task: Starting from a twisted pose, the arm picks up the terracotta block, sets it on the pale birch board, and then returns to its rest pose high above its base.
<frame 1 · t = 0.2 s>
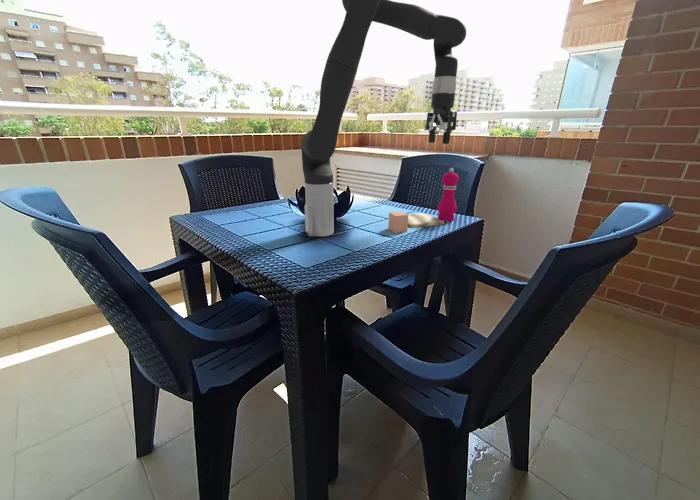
hand: (438, 143, 113), 29 cm above the table, tool pointing down, fingers open, 8 cm apart
pepper mill: (445, 219, 127), on the table
terracotta block: (397, 230, 113), on the table
birch board: (418, 221, 124), on the table
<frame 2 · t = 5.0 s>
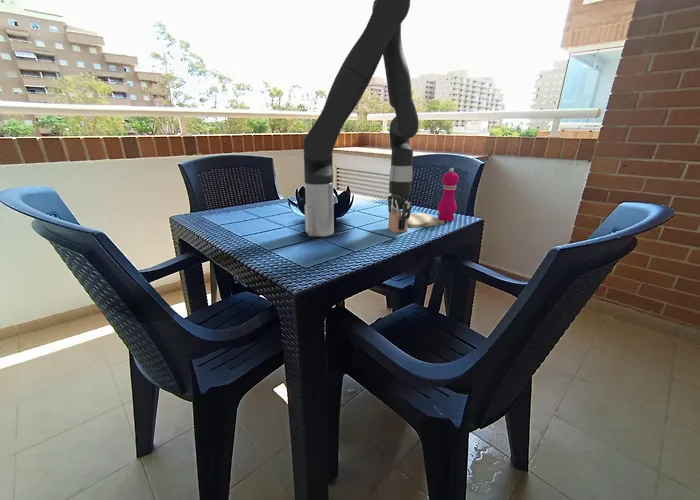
hand: (397, 227, 113), 1 cm above the table, tool pointing down, fingers closed on terracotta block, 5 cm apart
terracotta block: (397, 229, 113), on the table, touching gripper
everything else where it was.
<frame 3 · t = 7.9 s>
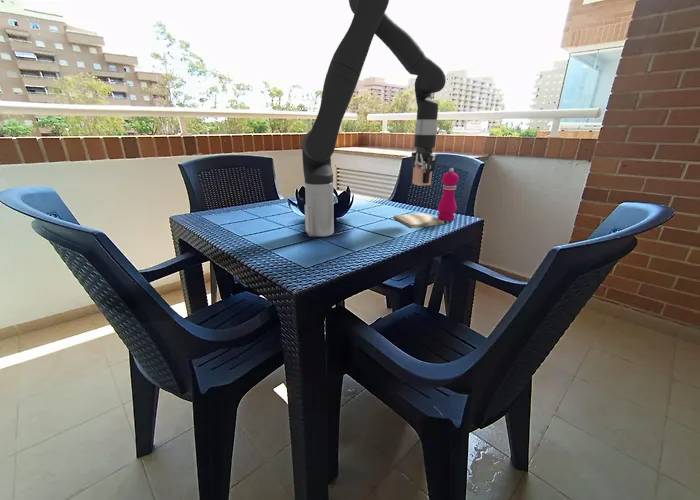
hand: (421, 181, 119), 15 cm above the table, tool pointing down, fingers closed on terracotta block, 5 cm apart
terracotta block: (421, 184, 119), point 14 cm above the table, touching gripper
everything else where it was.
when the fingers open (3 cm above the table, at t = 10.9 s): terracotta block drops 1 cm, resting on birch board.
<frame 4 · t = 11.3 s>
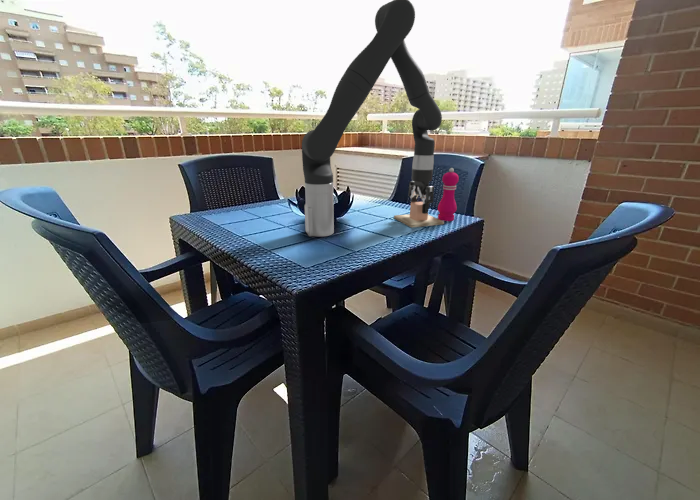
hand: (419, 210, 123), 4 cm above the table, tool pointing down, fingers open, 8 cm apart
terracotta block: (418, 218, 124), point 1 cm above the table, touching birch board
everything else where it was.
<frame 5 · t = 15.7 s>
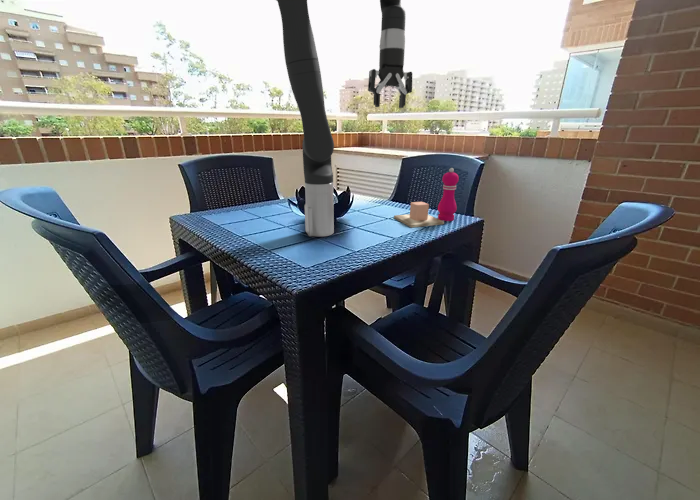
hand: (389, 107, 103), 40 cm above the table, tool pointing down, fingers open, 8 cm apart
nothing on the table moved.
at the end: terracotta block inside the target area on the birch board (0.1 cm from its centre), point 1.0 cm above the birch board's base; terracotta block tilted 0°; the gripper is holding nothing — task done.
